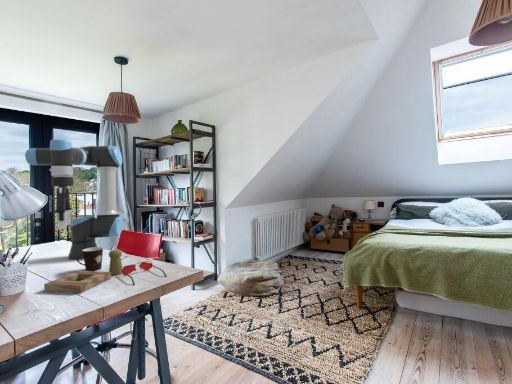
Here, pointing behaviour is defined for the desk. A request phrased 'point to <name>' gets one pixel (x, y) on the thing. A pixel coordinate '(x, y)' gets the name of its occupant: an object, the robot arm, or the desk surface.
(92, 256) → the coffee mug
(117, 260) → the cork
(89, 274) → the socket block
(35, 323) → the desk surface
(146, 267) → the glasses
